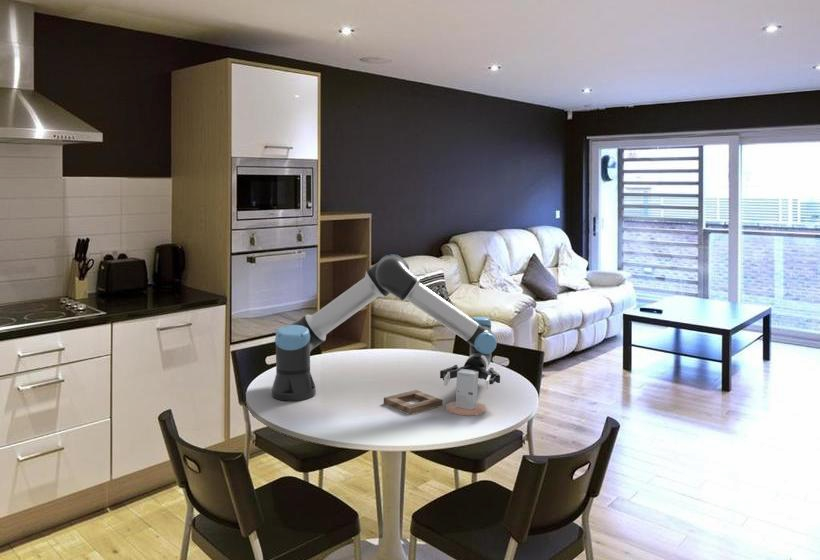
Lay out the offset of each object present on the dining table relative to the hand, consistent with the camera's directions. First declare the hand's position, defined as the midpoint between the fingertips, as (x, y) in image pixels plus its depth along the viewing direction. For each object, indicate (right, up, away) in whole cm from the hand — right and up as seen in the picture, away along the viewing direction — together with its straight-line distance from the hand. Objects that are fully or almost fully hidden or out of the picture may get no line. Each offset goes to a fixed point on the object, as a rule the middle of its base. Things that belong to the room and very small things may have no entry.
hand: (465, 383), depth 213 cm
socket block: (-17, -8, +7) cm, 20 cm away
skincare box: (+1, -8, +3) cm, 9 cm away
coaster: (0, -9, +3) cm, 9 cm away
